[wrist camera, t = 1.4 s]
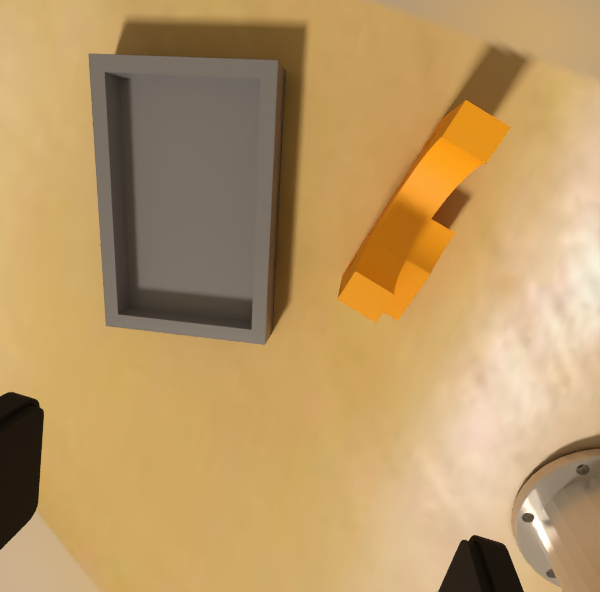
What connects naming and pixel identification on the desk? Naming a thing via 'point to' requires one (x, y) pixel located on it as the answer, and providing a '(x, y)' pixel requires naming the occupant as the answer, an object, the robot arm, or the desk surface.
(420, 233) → the orange blocky piece
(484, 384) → the desk surface
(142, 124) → the parts tray
